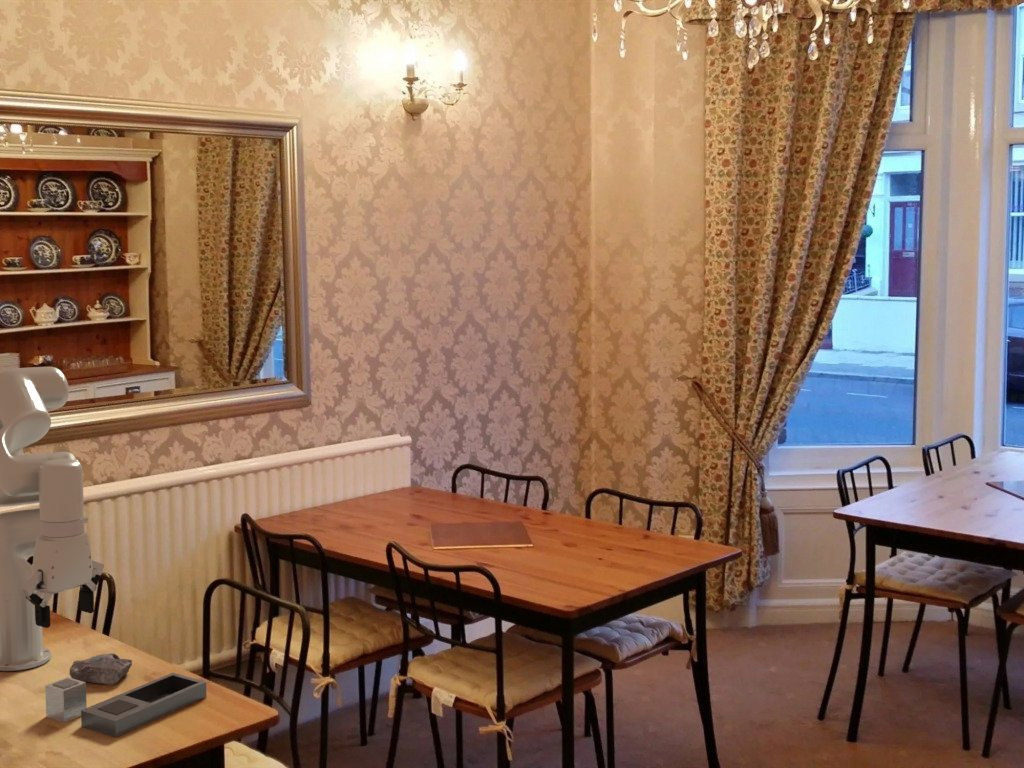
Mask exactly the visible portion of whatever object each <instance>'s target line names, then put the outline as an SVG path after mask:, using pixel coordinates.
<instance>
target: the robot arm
mask: <svg viewBox="0 0 1024 768" xmlns="http://www.w3.org/2000/svg"><path fill="white" fill-rule="evenodd" d="M69 387H70V386H69V382H68V380H67V378H66V375H65V374H64V373H63V372H62V371H61V369H59V368H58V367H54V366H35V367H31V366H30V367H14V368H13V367H12V368H7V369H4V370H2V371H0V508H3V507H5V508H6V507H7V508H8V507H17V506H24V505H31V504H32V505H33V504H39V506H38V507H39V508H33V509H21V510H16V511H15V510H13V511H8V512H7V511H5V512H2V513H0V671H1V672H14V671H16V672H17V671H24V670H28V669H33V668H36V667H39V666H42V665H44V664H46V663H48V662H49V661H50V660H51V658H52V651H51V650H50V648H48V647H45V646H43V645H44V640H43V628H45V629H48V628H50V627H51V607H50V605H47V604H48V603H49V601H50V599H51V598H52V596H53V595H54V594H59V593H62V592H65V591H68V590H72V589H75V588H78V587H80V588H81V589H79V591H78V595H79V597H78V600H79V611H81V612H84V613H88V614H92V613H94V612H95V601H94V600H95V596H94V595H95V594H94V592H95V591H96V590H97V588H98V587H97V586H98V584H99V582H100V581H101V580H102V576H101V575H102V573H103V572H104V568H105V564H104V563H101V562H98V561H95V560H93V559H92V550H91V545H90V544H91V543H90V540H89V536H88V532H87V531H85V524H87V523H88V522H89V521H88V520H89V519H88V516H87V515H85V508H84V507H85V506H84V475H83V474H84V473H83V466H82V464H81V462H80V461H79V460H78V459H77V458H76V456H75V455H74V454H73V453H71V452H68V451H55V452H44V453H33V454H31V453H30V454H25V453H24V448H26V447H28V446H31V445H32V444H34V443H37V442H38V441H40V440H42V439H43V437H45V436H46V434H47V433H48V432H49V430H50V429H51V425H52V419H51V415H50V413H49V412H52V411H54V410H55V411H56V410H58V409H61V408H62V407H63V406H65V405H66V403H67V401H68V398H69V394H70V393H69V392H70V391H69V389H70V388H69ZM29 557H32V564H31V563H30V562H28V560H27V559H28V558H29Z"/></svg>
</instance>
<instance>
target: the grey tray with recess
mask: <svg viewBox="0 0 1024 768" xmlns="http://www.w3.org/2000/svg"><path fill="white" fill-rule="evenodd" d="M204 698H207V681H205V680H201V679H197V678H194V677H190V676H186V675H183V674H179V673H176V672H171V673H168V674H166V675H164V676H162V677H161V676H160V677H158V678H156V679H154V680H151V681H149V682H146V683H144V684H142V685H139V686H137V687H135V688H132V689H129V690H127V691H125V692H122V693H120V694H118V695H115V696H112V697H110V698H107V699H105V700H103V701H100V702H98V703H95V704H93V705H90V706H89V707H88V706H87V708H85V709H83V710H81V716H80V719H81V721H80V722H81V727H83V728H86V729H90V730H92V731H95V732H98V733H102V734H104V735H107V736H111V737H113V738H118V737H120V736H122V735H125V734H127V733H129V732H131V731H133V730H135V729H138V728H140V727H143V726H145V725H146V724H149V723H151V722H153V721H156V720H158V719H160V718H163V717H164V716H167V715H169V714H171V713H174V712H176V711H179V710H180V709H182V708H184V707H187V706H189V705H192V704H193V703H196V702H199V701H201V700H202V699H204Z"/></svg>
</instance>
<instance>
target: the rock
mask: <svg viewBox="0 0 1024 768" xmlns="http://www.w3.org/2000/svg"><path fill="white" fill-rule="evenodd" d="M132 666H133V660H132V659H127V658H120V657H119V655H117V654H116V653H113V652H112V653H111V652H109V653H104V654H98V655H94V656H91V657H88V658H86V659H82V660H73V662H72V665H71V666H70V668H69V676H70V678H73V679H76V680H79V681H82V682H86V683H87V682H89V683H93V684H94V683H95V684H103V685H108V686H110V685H111V686H112V685H113V686H116V684H117V683H118V682H119V681H120V680H121V679H122V678H124V677H125V675H127V674H128V673H129V671H130V669H131V667H132Z"/></svg>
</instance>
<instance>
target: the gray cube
mask: <svg viewBox="0 0 1024 768" xmlns="http://www.w3.org/2000/svg"><path fill="white" fill-rule="evenodd" d="M44 687H45V690H44V694H45V714H46V715H45V716H46V718H49V719H53V720H55V721H58V722H61V723H66V722H69V721H71V719H72V720H73V718H74V719H76V717H77V718H78V716H79V717H81V710H83V709H85V708H88V706H87V681H86V682H82V681H79V680H76V679H73V678H71V677H68V676H66V677H65V678H62V679H59V680H56V681H54V682H51V683H48V684H45V686H44Z"/></svg>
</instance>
